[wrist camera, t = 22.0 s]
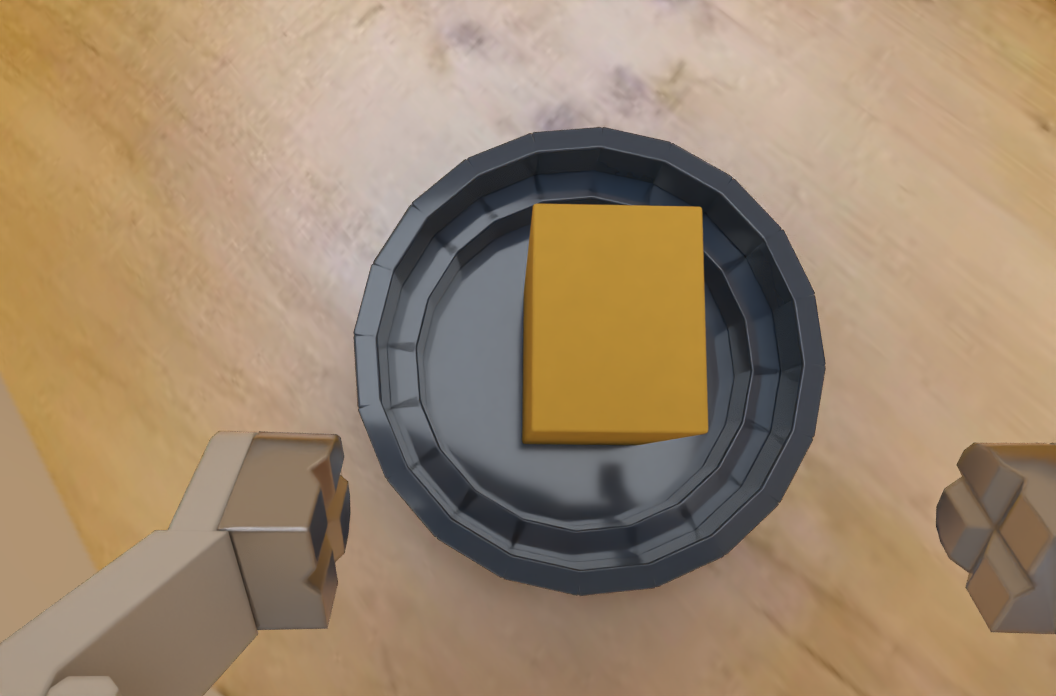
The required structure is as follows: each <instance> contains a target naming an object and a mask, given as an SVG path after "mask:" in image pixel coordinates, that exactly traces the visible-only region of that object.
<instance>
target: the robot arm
mask: <svg viewBox="0 0 1056 696" xmlns="http://www.w3.org/2000/svg"><path fill="white" fill-rule="evenodd" d="M343 460H344V453H343V447H342V442H341V438H340V437H339V436H338V435H337V434H312V433H285V432H258V433H257V432H235V431H218V432H217V433H216V434H215V435H214V436H213V437H212V438H211V439H210V440H209V442H208V444H207V446H206V449H205V451H204V453H203V455H202V457H201V459H200V461H199V464H198V466H197V468H196V470H195V472H194V474H193V476H192V479H191V481H190V483H189V485H188V487H187V489H186V491H185V494H184V496H183V498H182V500H181V502H180V504H179V506H178V509H177V511H176V513H175V515H174V517H173V519H172V521H171V524H170V526H169V528H168V530H155V531H153V532H152V533H151V534H149V535H148V536H146V537H145V538H144V539H142V540H141V541H140V542H138V543H137V544H136V545H134V546H133V547H131V548H130V549H129V550H127V551H126V552H125V553H123V554H122V555H120V556H119V557H118V558H116V559H115V560H114V561H112V562H111V563H109V564H108V565H107V566H105V567H104V568H103V569H101V570H100V571H98V572H97V573H96V574H94V575H93V576H92V577H90V578H89V579H87V580H86V581H85V582H83V583H82V584H81V585H79V586H78V587H77V588H75V589H74V590H72V591H71V592H70V593H68V594H67V595H66V596H64V597H63V598H62V599H60V600H59V601H57V602H56V603H55V604H54V605H52V606H51V607H49V608H48V609H46V610H45V611H44V612H42V613H41V614H40V615H38V616H37V617H35V618H34V619H33V620H31V621H30V622H28V623H27V624H26V625H24V626H23V627H22V628H20V629H19V630H18V631H16V632H15V633H13V634H12V635H11V636H9V637H8V638H7V639H5V640H4V641H3V642H1V643H0V696H203V695H204V694H205V693H206V692H207V691H208V690H209V689H210V687H211V686H212V685H213V684H214V683H215V682H216V681H217V680H218V678H219V677H220V676H221V675H222V674H223V673H224V672H225V671H226V670H227V668H228V667H229V666H230V665H231V664H232V663H233V662H234V661H235V659H236V658H237V657H238V656H239V655H240V654H241V653H242V652H243V651H244V649H245V648H246V647H247V646H248V645H249V644H250V643H251V642H252V640H253V639H254V638H255V637H256V636H257V635H258V631H257V630H279V629H325V628H328V625H329V621H330V617H331V612H332V608H333V603H334V599H335V594H336V590H337V586H338V579H337V573H336V567H335V562H336V561H337V560H338V559H339V558H340V557H341V556H342V555H343V554H344V553H345V549H346V544H347V539H348V533H349V522H350V493H349V486H348V481H347V480H346V479H344V478H343V477H342V476H341V475H340V472H341V468H342V464H343ZM957 466H958V469H959V471H960V473H961V475H962V477H961V478H959V479H958V480H956V481H955V482H953V483H952V484H950V485H949V486H947V487H946V488H945V489H944V491H943V493H942V495H941V498H940V500H939V502H938V504H937V507H936V528H937V531H938V535H939V539H940V542H941V544H942V546H943V548H944V550H945V552H946V553H947V555H948V557H949V559H951V560H952V561H953V562H955V563H956V564H957V565H959V566H960V567H962V568H963V569H964V570H966V571H967V572H968V573H969V575H968V579H967V583H966V589H967V591H968V593H969V594H970V596H971V598H972V600H973V601H974V603H975V605H976V607H977V608H978V610H979V612H980V614H981V615H982V617H983V619H984V621H985V622H986V624H987V626H988V628H989V629H990V631H991V632H1004V633H1034V634H1056V443H1050V444H1047V443H973V444H972V445H970V446H969V447H968V448H967V449H965V450H964V451H963V453H962V455H961V457H960V459H959V461H958V463H957Z"/></svg>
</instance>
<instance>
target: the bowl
mask: <svg viewBox="0 0 1056 696" xmlns="http://www.w3.org/2000/svg"><path fill="white" fill-rule="evenodd" d="M534 204H587V205H641V206H695V207H701V208H702V218H703V255H704V291H705V328H706V365H707V402H708V432H707V433H705V434H700V435H695V436H689V437H683V438H677V439H671V440H666V441H660V442H654V443H648V444H642V445H570V444H524V443H523V442H522V423H523V323H524V285H525V276H526V266H527V257H528V247H529V238H530V228H531V219H532V210H533V205H534ZM814 294H815V292H814V290H813V288H812V286H811V284H810V282H809V280H808V278H807V276H806V274H805V272H804V270H803V268H802V266H801V264H800V262H799V260H798V258H797V256H796V254H795V252H794V250H793V248H792V246H791V244H790V242H789V240H788V238H787V236H786V234H785V232H784V230H781V227H780V226H779V225H778V224H777V223H776V222H775V221H774V220H773V219H772V218H771V217H770V216H769V214H768V213H767V212H766V211H765V210H764V209H763V208H762V207H761V206H760V205H759V204H758V203H757V202H756V201H755V200H754V199H753V198H752V197H751V196H750V194H749V193H748V192H747V191H746V190H745V189H744V188H743V187H742V186H741V185H740V184H739V183H738V182H737V181H736V180H735V179H732V176H730V175H728V174H727V173H725V172H723V171H721V170H720V169H718V168H716V167H714V166H712V165H711V164H709V163H707V162H705V161H704V160H702V159H700V158H698V157H697V156H695V155H693V154H691V153H689V152H688V151H686V150H684V149H682V148H681V147H679V146H677V145H675V144H674V143H671V142H668V141H664V140H659V139H655V138H651V137H646V136H642V135H637V134H633V133H628V132H624V131H619V130H615V129H610V128H606V127H603V128H601V127H596V128H583V129H570V130H557V131H544V132H534V133H532V134H531V133H529V134H527V135H524V136H522V137H519V138H517V139H514V140H512V141H509V142H507V143H504V144H502V145H499V146H497V147H494V148H492V149H489V150H487V151H484V152H481V153H479V154H476V155H474V156H471V157H469V158H468V159H467V160H466V159H465V160H463V161H462V162H461V163H460V164H459V165H457V166H456V167H455V168H454V169H452V170H451V171H450V172H449V173H448V174H446V175H445V176H444V177H443V178H441V179H440V180H439V181H438V182H437V183H435V184H434V185H433V186H432V187H430V188H429V189H428V190H427V191H425V192H424V193H423V194H422V195H421V196H419V197H418V198H417V199H416V200H414V201H413V202H412V205H410V206H409V207H408V209H407V211H406V212H405V214H404V215H403V217H402V218H401V220H400V221H399V223H398V224H397V226H396V228H395V229H394V231H393V232H392V234H391V235H390V237H389V238H388V240H387V241H386V243H385V245H384V246H383V248H382V249H381V251H380V252H379V254H378V255H377V257H376V258H375V260H374V262H373V264H372V265H371V268H370V272H369V276H368V280H367V283H366V287H365V291H364V295H363V299H362V302H361V306H360V310H359V314H358V317H357V321H356V325H355V329H354V354H355V370H356V386H357V403H358V407H359V409H358V411H359V413H360V416H361V418H362V421H363V423H364V426H365V428H366V431H367V433H368V436H369V438H370V441H371V443H372V446H373V448H374V451H375V453H376V456H377V458H378V461H379V463H380V466H381V468H382V471H383V473H384V476H385V478H386V479H387V481H388V482H389V483H390V485H391V486H392V487H393V488H394V489H395V491H396V492H397V493H398V494H399V495H400V496H401V498H402V499H403V500H404V501H405V502H406V504H407V505H408V506H409V507H410V508H411V509H412V511H413V512H414V513H415V514H416V515H417V517H418V518H419V519H420V520H421V521H422V522H423V524H424V525H425V526H426V527H427V528H428V530H429V531H430V532H431V533H432V534H433V535H434V537H437V539H438V540H440V541H441V542H443V543H444V544H446V545H448V546H449V547H451V548H453V549H454V550H456V551H458V552H459V553H461V554H463V555H464V556H466V557H467V558H469V559H471V560H472V561H474V562H476V563H477V564H479V565H481V566H482V567H484V568H486V569H487V570H489V571H490V572H492V573H494V574H495V575H497V576H499V577H500V578H504V579H505V580H510V581H514V582H519V583H523V584H527V585H532V586H536V587H541V588H545V589H549V590H554V591H558V592H563V593H567V594H572V595H576V596H577V595H579V596H585V595H595V594H604V593H614V592H624V591H633V590H643V589H653V588H655V587H659V586H661V585H663V584H666V583H668V582H670V581H672V580H674V579H676V578H679V577H681V576H683V575H685V574H687V573H689V572H692V571H694V570H696V569H698V568H700V567H703V566H705V565H707V564H709V563H711V562H713V561H716V560H718V559H720V558H722V557H723V556H724V555H726V554H728V553H729V552H730V551H731V550H732V549H733V548H734V547H735V546H736V545H737V544H738V543H739V542H740V541H741V540H742V539H743V538H745V537H746V536H747V535H748V534H749V533H750V532H751V531H752V530H753V529H754V528H755V527H756V526H757V525H758V524H759V523H760V522H761V521H762V520H763V519H764V518H766V517H767V516H768V515H769V514H770V513H771V512H772V511H773V510H774V509H775V508H776V507H777V506H778V503H780V502H781V500H782V498H783V496H784V494H785V493H786V491H787V489H788V487H789V485H790V483H791V481H792V479H793V477H794V475H795V473H796V472H797V470H798V468H799V466H800V464H801V462H802V460H803V458H804V456H805V454H806V452H807V451H808V449H809V447H810V445H811V443H812V441H813V437H814V436H815V430H816V424H817V417H818V411H819V405H820V399H821V393H822V387H823V381H824V374H825V366H824V365H825V357H824V351H823V344H822V338H821V331H820V325H819V318H818V312H817V305H816V299H815V295H814Z"/></svg>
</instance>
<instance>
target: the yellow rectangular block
mask: <svg viewBox="0 0 1056 696" xmlns="http://www.w3.org/2000/svg"><path fill="white" fill-rule="evenodd" d="M707 432H708V402H707V365H706V328H705V291H704V255H703V218H702V208H701V207H695V206H641V205H587V204H534V205H533V210H532V219H531V228H530V238H529V247H528V257H527V266H526V276H525V285H524V323H523V423H522V442H523V443H524V444H570V445H642V444H648V443H654V442H660V441H666V440H671V439H677V438H683V437H689V436H695V435H700V434H705V433H707Z"/></svg>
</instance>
